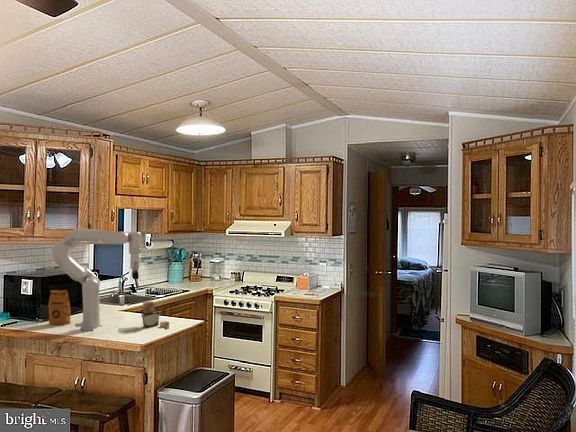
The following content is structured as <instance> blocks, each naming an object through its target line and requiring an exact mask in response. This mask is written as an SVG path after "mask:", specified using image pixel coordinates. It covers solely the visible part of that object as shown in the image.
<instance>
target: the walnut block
mask: <svg viewBox="0 0 576 432" xmlns="http://www.w3.org/2000/svg"><path fill="white" fill-rule="evenodd" d="M142 310H143V311H142V313H143V312H144V313H154V311H155V302H154V300H153V301H143V302H142Z"/></svg>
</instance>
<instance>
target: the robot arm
mask: <svg viewBox="0 0 576 432" xmlns="http://www.w3.org/2000/svg"><path fill="white" fill-rule="evenodd" d="M81 243H85V244H86V243H88V244H91V243H92V244H108V245H109V244H111V245H112V244H114V245H125V244H127V243H128V254H129V255H130V262H129V264H130V267H129V268H130V269H131V270H132V271H131V277H132V279H133V280H139V278H140V275H139V269H140V254H142V233H141V232H140V231H109V230H103V229H94V228H93V229H92V228H79V227H78V228H73V230H72V231H71V232H70V233H69V234H68V235H66V236H65V237H64V238H62V239H61V240H59V241H56V242H55V243H54V245H53V247H52V249H51V257H52V260H53V262H54V263H55V264H56V265H57V266H58V267H59V268H60V269H61V270H62V271H63V272H64V273H65V274H66V275H67V276H69V277H70V279H72V280H73V281H75V282H79V283H80V284H81V285H82V287H81V290H82V322H80V323H79V322H78V323H74V326H75V327H77V328H80V329H79V330H80V331H82V332H92V331H94V329H100V328H102V327H103V325H102V324H101V323H100V315H101V314H100V313H101V311H100V310H101V309H100V308H101V307H100V306H101V305H100V286H101V280H100V278H98V277H97V276H96V274H94V273H93V272H92V271H91V270H90V269H89V268H88V267H86V266H85V265H84V264H79V263H78V262H77V261H76V260H75V259H73V257H71V256H70V255H69V254H68V253H70V252H71V251H72V250H73V249H74V248H76V247H77V246H78V245H80V244H81Z"/></svg>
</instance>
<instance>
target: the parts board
mask: <svg viewBox="0 0 576 432" xmlns="http://www.w3.org/2000/svg"><path fill="white" fill-rule="evenodd" d="M117 330H118V333H127V332H137V331H141V330H140V327H139V326H131V327H120V328H117Z"/></svg>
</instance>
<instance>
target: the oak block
mask: <svg viewBox="0 0 576 432" xmlns="http://www.w3.org/2000/svg"><path fill="white" fill-rule="evenodd" d="M159 324H160V325H159V326H160V327H161V328H164V330H168V329H170V321H168V320H165V321H159Z"/></svg>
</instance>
